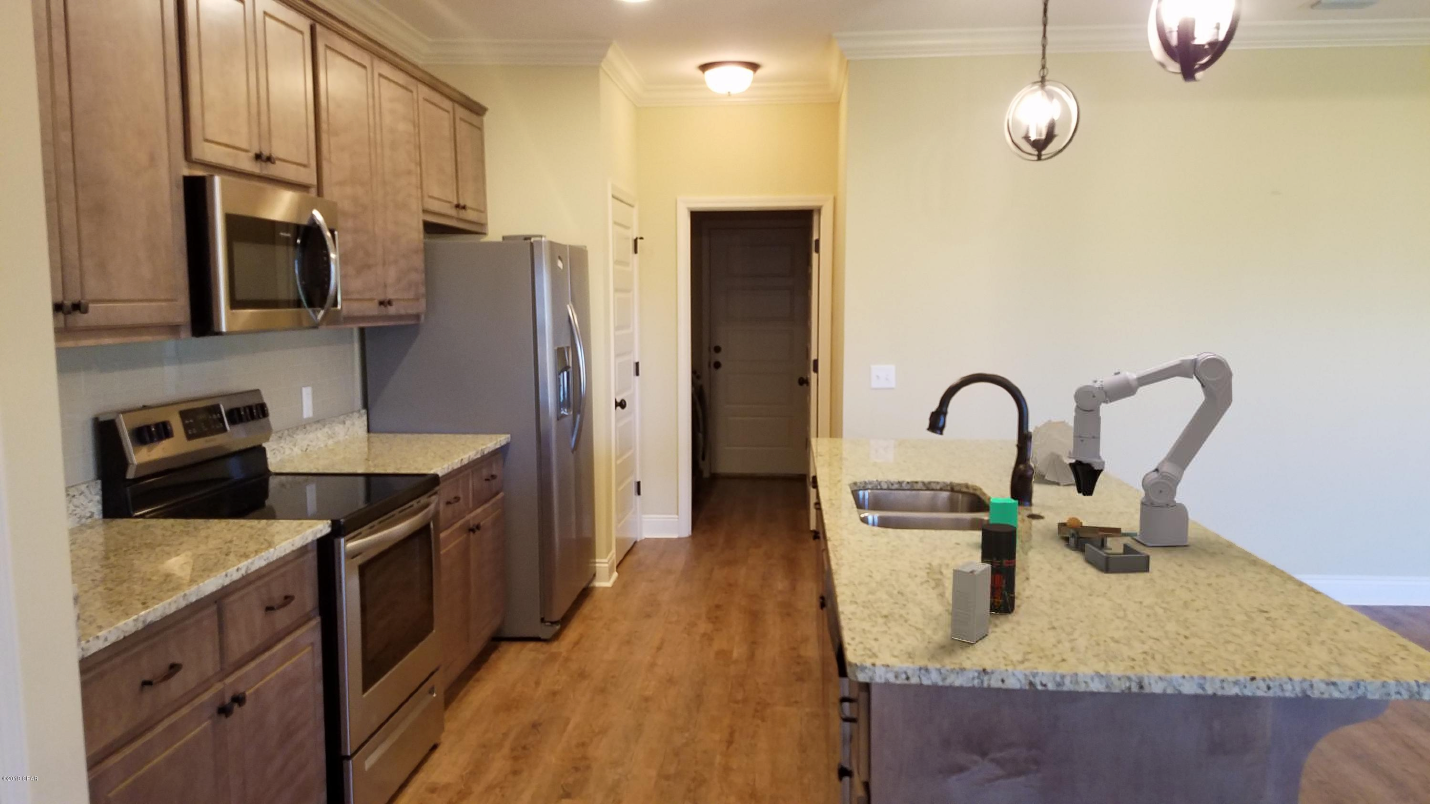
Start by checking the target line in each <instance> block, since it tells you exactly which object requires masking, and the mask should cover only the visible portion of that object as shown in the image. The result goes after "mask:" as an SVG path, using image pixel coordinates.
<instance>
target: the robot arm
mask: <svg viewBox="0 0 1430 804" xmlns="http://www.w3.org/2000/svg"><path fill="white" fill-rule="evenodd" d="M1176 377H1178V378H1179V377H1180V378H1185V379H1191V380H1193V379H1194V377H1195V378H1196V380H1197V381H1198V382H1199V384H1200V387H1201V390H1202V393H1203V396H1204V400H1203V401H1202V403H1201V404H1200V406H1199V407H1198V408H1197V410H1196V411H1195V413H1194V414H1193V416H1192V417H1191V419H1190V420H1189V422H1188V423H1187V424H1186V426H1185V428H1184V429H1183V430H1182V432H1181V433H1180V435H1179V436H1178V438H1177V439H1176V440H1175V442H1174V443H1173V445H1172V446H1171V448H1170V449H1169V451H1168V452H1167V454H1166V455H1165V456H1164V458H1163V459H1161V461H1159V463H1157V465H1156V467H1155V468H1154V469H1152V470H1150V471H1148V472H1147V473H1145V474H1144V476H1143V477H1142V479H1141V487H1142V489H1143V491H1144V496H1143V497H1141V499H1140V500H1139V501H1140V504H1139V526H1138V527H1139V528H1138V529H1139V530H1138V532H1139V533H1138V534H1137V535H1138V536H1137V537H1131V538H1132V539H1134V540H1136V541H1137V542H1140V543H1142V544H1143V545H1145V546H1147V547H1166V546H1167V547H1168V546H1170V547H1171V546H1173V547H1174V546H1177V547H1178V546H1189V545H1190V542H1189V541H1188V540H1189V520H1190V519H1189V511H1188V508H1187V506H1186V505H1185V504H1183V503H1182V502H1177V501H1176V500H1175V498H1176V496H1177V489H1178V486H1179V484H1180V483H1181V481H1182V478H1183V476H1184V473H1185V471H1186V469H1187V468H1188V467H1189V465H1190V464H1191V463H1192V461H1193V459H1194V458H1195V457H1196V455H1197V454H1198V453H1199V451H1200V450H1201V448H1202V447H1203V445H1204V444H1205V443H1206V441H1207V440H1208V438H1209V436H1211V434H1212V433H1213V431H1214V430H1215V428H1216V426H1218V424H1219V423H1220V421H1221V419H1222V418H1223V417H1224V415H1225V414H1226V413H1227V411H1228V410H1229V408H1230V407H1231V406H1232V404H1233V372H1232V369H1231V367H1230V365H1229V362H1228V361H1227V360H1226V359H1225V357H1222V356H1221V355H1218V354H1216V353H1215V352H1211V351H1203V352H1200V353H1198V354H1197V355H1195V354H1192V355H1187V356H1182V357H1179V358H1175V359H1173V360H1170V361H1167V362H1165V363H1162V364H1159V365H1156V366H1153V367H1151V368H1150V367H1149V368H1148V369H1145V370H1142V371H1139V372H1136V373H1132V372H1129V371H1127V370H1125V371H1122V372H1121V370H1116V371H1114V372H1113V375H1109V376H1106V377H1104V378H1101V379H1098V378H1095V379H1092V383H1082V384H1081V385H1079V386H1078V387H1077V388H1076V389H1075V391H1074V394H1073V398H1074V403H1075V404H1076V405H1075V407H1074V416H1073V427H1074V431H1073V450H1069V455H1068V458H1069V459H1075V462H1072V463H1069V467H1070V468H1071V471H1072V473H1073V476H1074V479H1075V482H1074V484H1075V488H1076V492H1077V494H1082V496H1083V497H1093V495H1094V492H1095V488H1096V485H1097V483H1098V480H1099V478H1100V476H1101V474H1102V473H1103V472H1104V470H1105V466H1106V465H1105V464H1106V463H1105V462H1106V461H1105V460H1104V459H1103V457H1102V456H1101V453H1100V452H1101V427H1102V426H1101V424H1102V422H1101V421H1102V417H1101V414H1100V413H1101V406H1102V404H1104V405H1108V404H1111V403H1114V402H1117V401H1120V400H1123V399H1126V398H1130V397H1133V396H1135V395H1136V394H1137V392H1138V390H1139V389H1140V388H1143V387H1145V386H1146V387H1147V386H1150V385H1152V384H1155V383H1158V382H1159V383H1160V382H1163V381H1166V380H1168V379H1169V380H1170V379H1172V378H1176Z"/></svg>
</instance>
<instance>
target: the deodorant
mask: <svg viewBox="0 0 1430 804" xmlns="http://www.w3.org/2000/svg"><path fill="white" fill-rule="evenodd" d="M1016 536H1017V537H1018V527H1017V528H1016V527H1015V526H1013V525H1009V524H1002V523H990V522H988V523H985V524H982V525H981V545H980V547H981V549H980V550H981V553H980V563H985V564H990V565H991V583H990V612H995V613H1010V614H1012V613H1011V612H1013V611H1014V610H1016V580H1017V579H1016V578H1017V577H1016V576H1017V574H1016V570H1017V547H1016ZM1014 612H1015V611H1014ZM1014 612H1013V613H1014Z"/></svg>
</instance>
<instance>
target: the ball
mask: <svg viewBox="0 0 1430 804" xmlns="http://www.w3.org/2000/svg"><path fill="white" fill-rule="evenodd" d="M1081 522H1082V521H1081V520H1080V519H1079V518H1077V517H1075V516H1073V517H1069V518H1068V519H1067V521H1066V526H1069V527H1081Z"/></svg>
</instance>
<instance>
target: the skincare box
mask: <svg viewBox="0 0 1430 804" xmlns="http://www.w3.org/2000/svg"><path fill="white" fill-rule="evenodd" d="M990 583H991V565H990V564H985V563H981V562H978V561H973V560H967V561H965V562H964V563H961V564H959V565H958V566H957V567H955V568H953V569H952V587H951V592H952V593H951V619H950V620H951V621H950V638H951V637H954V638H958V639H961V640H966V641H970V642H973V643H974V642H975V643H977V642H978V641H980V640H981V639H983V638H984V637H986V636H987V635H988V634H990V633H989V632H990V614H991V613H990ZM986 634H987V635H986ZM983 636H984V637H983ZM980 638H981V639H980ZM979 639H980V640H979ZM977 640H978V641H977ZM976 641H977V642H976ZM975 643H974V644H975Z"/></svg>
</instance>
